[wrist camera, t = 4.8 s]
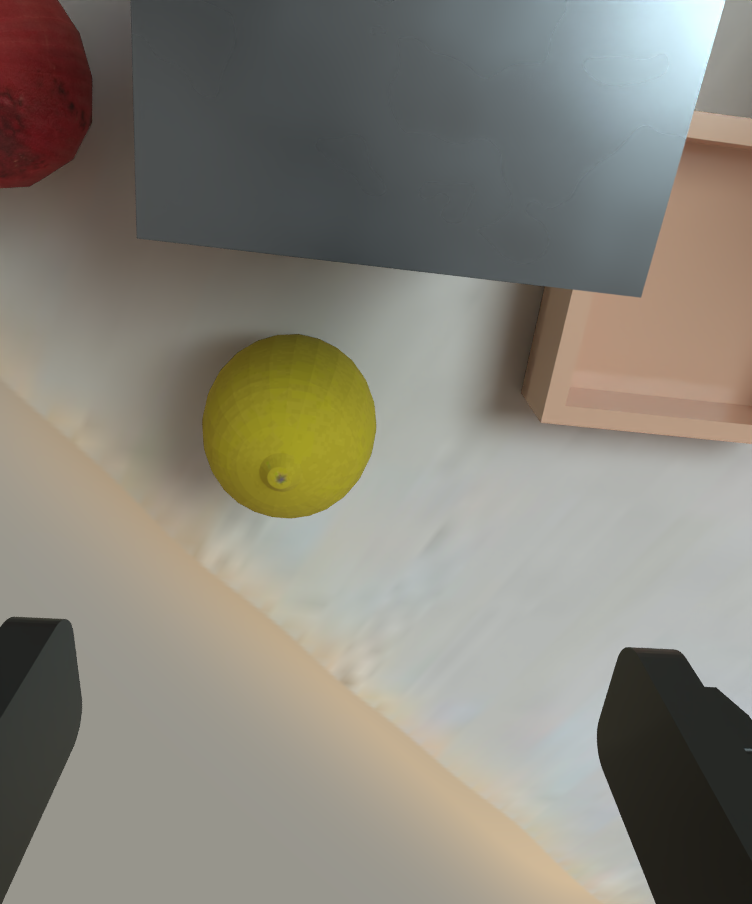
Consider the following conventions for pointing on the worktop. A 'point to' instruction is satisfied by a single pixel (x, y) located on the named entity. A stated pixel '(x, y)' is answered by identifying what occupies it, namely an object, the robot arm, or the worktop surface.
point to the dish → (665, 314)
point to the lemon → (289, 426)
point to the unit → (419, 131)
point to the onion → (40, 91)
